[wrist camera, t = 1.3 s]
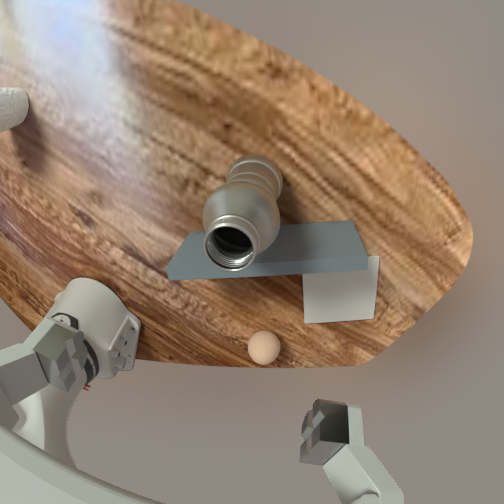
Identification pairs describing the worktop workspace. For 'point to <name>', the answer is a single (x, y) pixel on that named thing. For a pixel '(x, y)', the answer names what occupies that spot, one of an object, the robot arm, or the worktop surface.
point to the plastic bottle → (243, 213)
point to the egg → (264, 347)
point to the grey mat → (341, 294)
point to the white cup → (12, 107)
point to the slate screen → (281, 253)
